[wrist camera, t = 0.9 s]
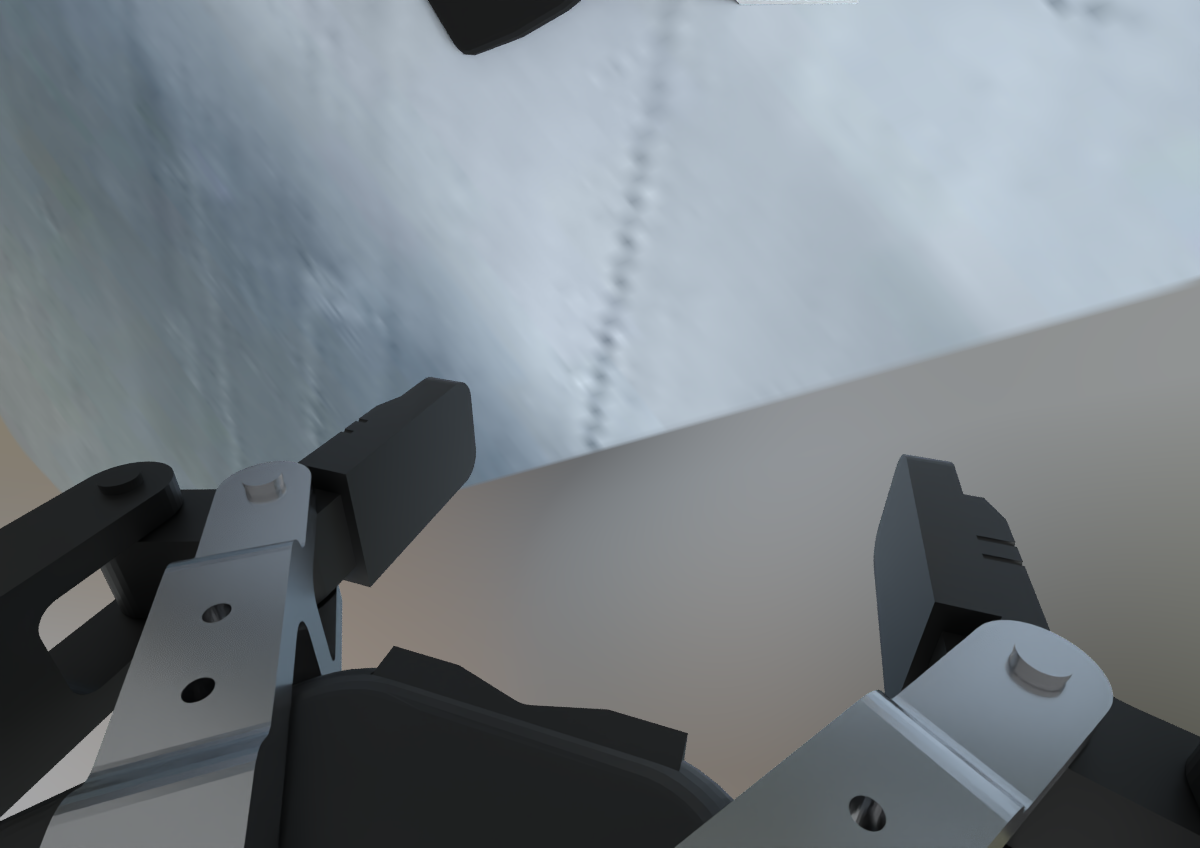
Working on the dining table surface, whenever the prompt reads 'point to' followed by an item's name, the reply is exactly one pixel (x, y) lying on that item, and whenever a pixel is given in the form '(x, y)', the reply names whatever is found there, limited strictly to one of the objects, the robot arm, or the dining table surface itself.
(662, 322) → the dining table surface
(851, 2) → the block
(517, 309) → the dining table surface
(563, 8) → the light switch
